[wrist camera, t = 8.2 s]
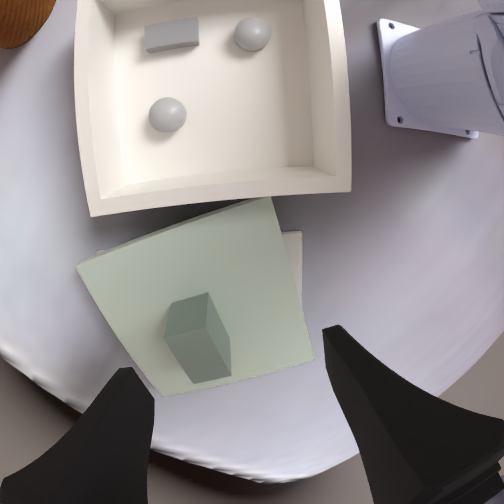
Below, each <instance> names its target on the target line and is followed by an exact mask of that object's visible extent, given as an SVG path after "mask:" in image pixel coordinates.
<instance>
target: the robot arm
mask: <svg viewBox="0 0 504 504" xmlns="http://www.w3.org/2000/svg"><path fill="white" fill-rule="evenodd" d="M477 1H478V3H479V5H480V6H481V8H482V9H483V10H482V11H478V12H474V13H470V14H467V15H463V16H459V17H456V18H453V19H449V20H446V21H443V22H440V23H437V24H434V25H431V26H428V27H425V28H422V29H419V28H416V27H412V26H409V25H406V24H402V23H399V22H395V21H391V20H387V19H380V20H378V21H377V29H378V36H379V43H380V51H381V60H382V70H383V82H384V96H385V119H386V122H387V124H388V125H389V126H393V127H402V128H411V129H419V130H426V131H433V132H439V133H445V134H451V135H457V136H462V137H467V138H472V139H477V138H478V134H479V132H485V133H491V134H497V135H502V136H504V0H477ZM388 24H389V25H390V26H391V27H392V29H391V28H390V27H389V26H388ZM398 117H399V118H400V123H398V121H397V118H398ZM466 130H467V133H466ZM322 333H323V342H324V353H325V363H326V369H327V372H328V376H329V379H330V382H331V385H332V388H333V391H334V393H335V395H336V398H337V400H338V402H339V404H340V406H341V409H342V411H343V413H344V415H345V417H346V420H347V422H348V424H349V426H350V428H351V431H352V433H353V435H354V437H355V440H356V443H357V445H358V448H359V451H360V455H361V458H362V461H363V464H364V468H365V471H366V475H367V478H368V482H369V486H370V490H371V493H372V497H373V501H374V504H504V475H503V476H501V477H500V475H499V473H498V471H500V470H501V467H500V465H499V463H498V461H499V460H500V459H501V458H502V457H503V456H504V420H503V419H499V418H495V417H490V416H486V415H482V414H478V413H475V412H472V411H469V410H466V409H463V408H461V407H458V406H456V405H453V404H451V403H449V402H446V401H444V400H442V399H439V398H437V397H435V396H433V395H431V394H429V393H428V392H426V391H424V390H422V389H420V388H418V387H417V386H415V385H413V384H412V383H410V382H409V381H407V380H405V379H404V378H402V377H401V376H399V375H398V374H397V373H395V372H394V371H392V370H391V369H390V368H388V367H387V366H386V365H384V364H383V363H382V362H380V361H379V360H378V359H377V358H376V357H374V356H373V355H372V354H371V353H369V352H368V351H367V350H366V349H365V348H364V347H363V346H361V345H360V344H359V343H358V342H357V341H356V340H355V339H354V338H353V337H352V336H351V335H350V334H349V333H348V332H347V331H346V330H345V329H344V328H343V327H342V326H340V325H336V326H332V327H329V328H325V329H322ZM153 426H154V398H153V396H152V395H151V394H150V392H149V391H148V389H147V388H146V387H145V385H144V384H143V382H142V381H141V379H140V378H139V377H138V375H137V374H136V372H135V371H134V369H133V368H132V367H127V368H119V369H118V370H117V372H116V373H115V374H114V375H113V376H112V378H111V379H110V380H109V381H108V383H107V384H106V385H105V386H104V388H103V389H102V390H101V392H100V393H99V394H98V396H97V397H96V398H95V400H94V401H93V402H92V403H91V405H90V406H89V407H88V409H87V410H86V411H85V412H84V413H83V415H82V416H81V417H80V418H79V419H78V421H77V422H76V423H75V424H74V425H73V426H72V428H71V429H70V430H69V431H68V432H67V433H66V434H65V435H64V436H63V437H62V438H61V439H60V440H59V441H58V442H57V443H56V444H55V445H54V446H52V447H51V448H50V449H49V450H48V451H46V452H45V453H44V454H43V455H42V456H40V457H39V458H38V459H36V460H35V461H34V462H32V463H30V464H29V465H27V466H26V467H24V468H23V469H21V470H19V471H17V472H16V473H13V474H12V475H10V476H8V477H5V478H4V479H3V481H2V484H1V487H0V504H148V499H147V468H148V460H149V453H150V446H151V439H152V433H153Z"/></svg>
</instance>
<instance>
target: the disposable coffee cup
mask: <svg viewBox="0 0 504 504" xmlns="http://www.w3.org/2000/svg"><path fill="white" fill-rule="evenodd" d="M55 1H56V0H0V48H5V49H10V48H15V47H17V46H19V45H21V44H23V43H25V42H26V41H27V40H28V39H30V38H31V37H32V36H33V35H34V34H35V33H36V32H37V31H38V30H39V29H40V27H41V26H42V25H43V24H44V22H45V21H46V20H47V18H48V16H49V15H50V13H51V11H52V9H53V7H54V4H55Z"/></svg>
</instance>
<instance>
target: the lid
mask: <svg viewBox="0 0 504 504" xmlns="http://www.w3.org/2000/svg"><path fill="white" fill-rule="evenodd" d="M75 267H76V269H77V271H78V273H79V274H80V276H81V278H82V280H83V282H84V283H85V285H86V287H87V289H88V291H89V292H90V294H91V296H92V297H93V299H94V301H95V303H96V304H97V306H98V308H99V309H100V311H101V312H102V314H103V316H104V317H105V319H106V320H107V322H108V324H109V325H110V327H111V328H112V330H113V331H114V333H115V334H116V336H117V337H118V339H119V340H120V342H121V343H122V345H123V346H124V347H125V349H126V350H127V352H128V353H129V355H130V356H131V357H132V359H133V360H134V361H135V363H136V364H137V366H138V367H139V368H140V370H141V371H142V372H143V374H144V375H145V376H146V377H147V379H148V380H149V381H150V383H151V384H152V385H153V386H154V388H155V389H156V390H157V391H158V393H159V394H160V395H161V396H162V397H164V396H170V395H176V394H182V393H187V392H192V391H197V390H202V389H207V388H212V387H217V386H221V385H226V384H230V383H234V382H238V381H242V380H246V379H250V378H254V377H258V376H262V375H265V374H269V373H272V372H276V371H279V370H283V369H286V368H290V367H293V366H296V365H299V364H302V363H306V362H309V361H312V360H315V358H314V354H313V350H312V346H311V342H310V338H309V334H308V330H307V326H306V322H305V318H304V314H303V310H302V307H301V303H300V299H299V295H298V291H297V288H296V284H295V280H294V277H293V273H292V269H291V266H290V262H289V258H288V255H287V251H286V248H285V244H284V241H283V237H282V234H281V230H280V227H279V223H278V220H277V216H276V213H275V209H274V206H273V203H272V199H271V196H268V197H255V198H251V199H248V200H245V201H242V202H239V203H236V204H233V205H229V206H226V207H223V208H220V209H217V210H214V211H212V212H209V213H206V214H203V215H200V216H197V217H194V218H191V219H188V220H185V221H183V222H180V223H177V224H174V225H171V226H169V227H166V228H163V229H160V230H158V231H155V232H152V233H150V234H147V235H144V236H142V237H139V238H136V239H134V240H131V241H128V242H126V243H123V244H121V245H118V246H116V247H113V248H110V249H108V250H105V251H103V252H100V253H98V254H95V255H93V256H91V257H88V258H86V259H83V260H81V261H79V262H78V264H77V265H76V266H75Z"/></svg>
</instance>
